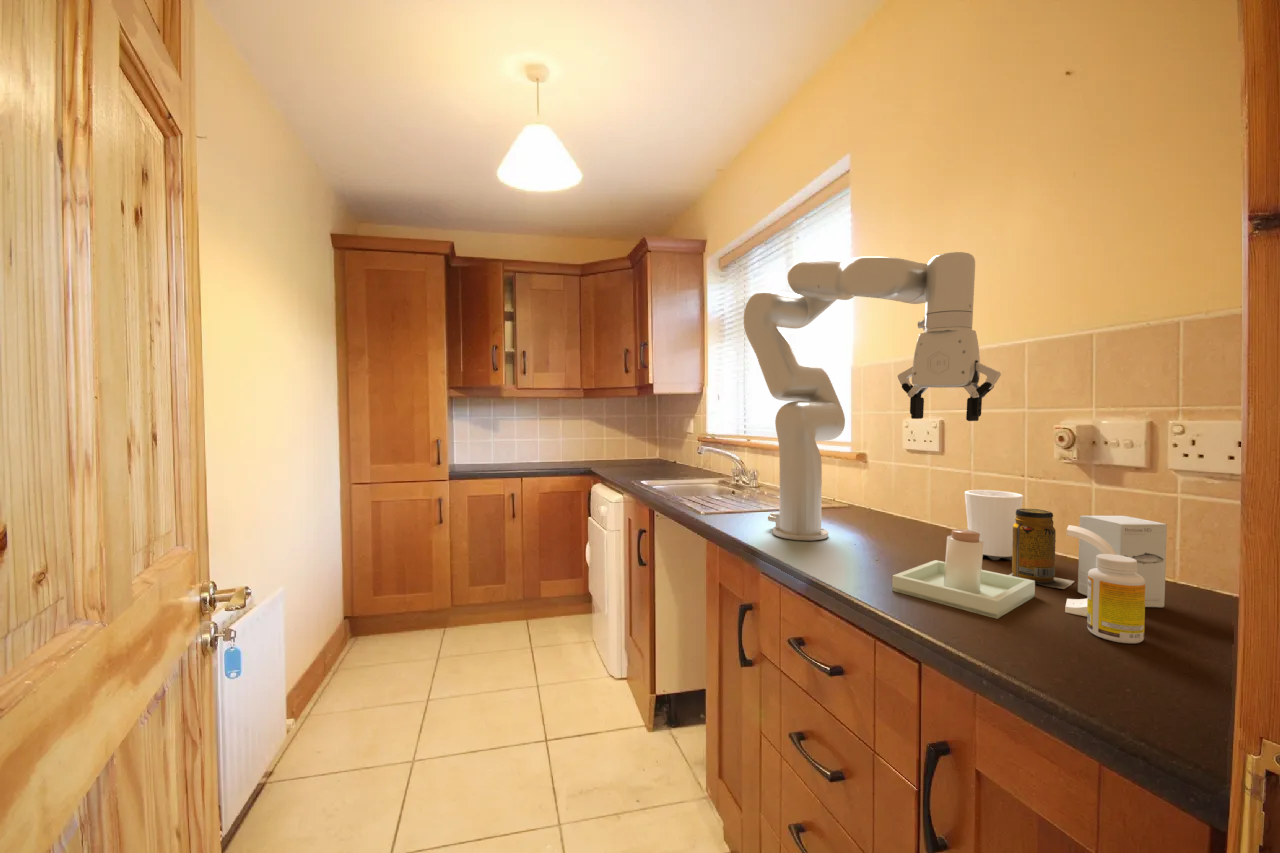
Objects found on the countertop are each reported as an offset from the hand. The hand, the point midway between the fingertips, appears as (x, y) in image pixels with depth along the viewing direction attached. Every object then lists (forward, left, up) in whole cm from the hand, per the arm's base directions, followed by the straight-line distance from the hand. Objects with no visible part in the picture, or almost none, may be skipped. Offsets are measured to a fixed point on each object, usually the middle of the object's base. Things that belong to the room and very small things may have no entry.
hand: (943, 419), depth 98 cm
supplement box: (+24, +5, -28) cm, 37 cm away
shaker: (+8, -10, -27) cm, 30 cm away
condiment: (+13, +7, -28) cm, 32 cm away
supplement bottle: (+27, -13, -28) cm, 41 cm away
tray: (+8, -11, -28) cm, 31 cm away
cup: (+2, +18, -28) cm, 34 cm away
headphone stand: (+23, -5, -28) cm, 36 cm away
